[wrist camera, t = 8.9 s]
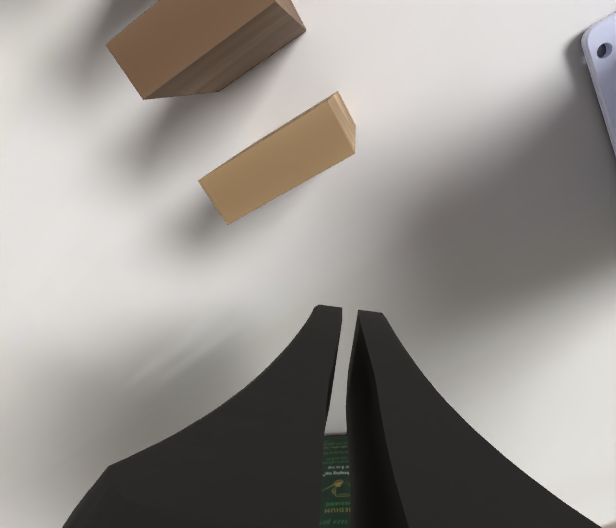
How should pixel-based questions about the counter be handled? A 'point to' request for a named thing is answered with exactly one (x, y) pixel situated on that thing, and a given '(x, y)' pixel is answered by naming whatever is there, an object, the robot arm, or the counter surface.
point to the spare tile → (282, 159)
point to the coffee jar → (335, 484)
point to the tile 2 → (201, 43)
